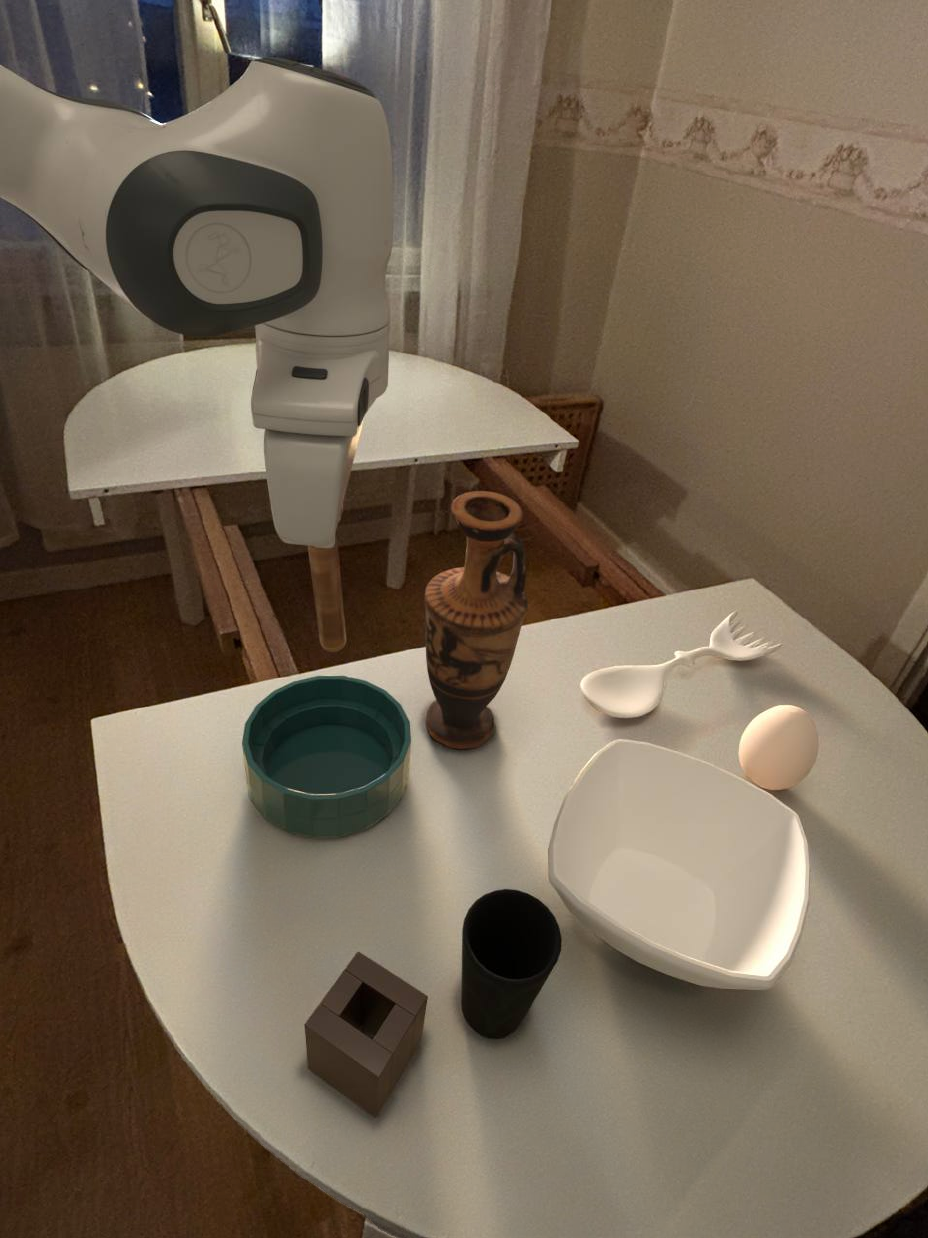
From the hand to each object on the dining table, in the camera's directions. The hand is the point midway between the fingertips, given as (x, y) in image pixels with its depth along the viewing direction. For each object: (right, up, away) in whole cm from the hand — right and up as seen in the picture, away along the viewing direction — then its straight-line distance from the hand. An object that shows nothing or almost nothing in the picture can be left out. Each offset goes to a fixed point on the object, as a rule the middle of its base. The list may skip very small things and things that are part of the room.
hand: (327, 530), depth 59 cm
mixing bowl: (-4, -24, +22) cm, 33 cm away
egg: (+46, -26, +28) cm, 60 cm away
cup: (+13, -41, +5) cm, 43 cm away
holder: (+3, -42, +1) cm, 43 cm away
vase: (+10, -20, +30) cm, 38 cm away
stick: (-1, -10, +8) cm, 13 cm away
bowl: (+29, -36, +13) cm, 48 cm away
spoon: (+40, -15, +41) cm, 59 cm away
